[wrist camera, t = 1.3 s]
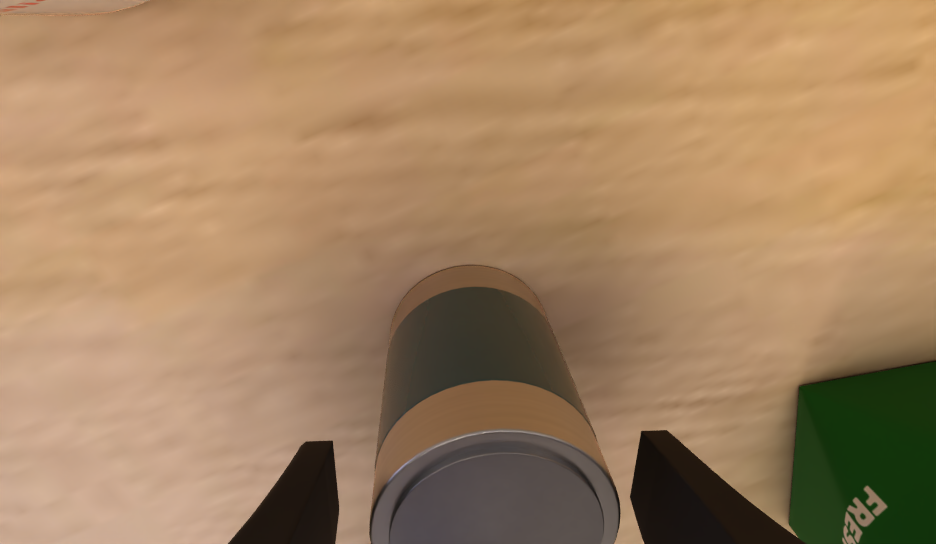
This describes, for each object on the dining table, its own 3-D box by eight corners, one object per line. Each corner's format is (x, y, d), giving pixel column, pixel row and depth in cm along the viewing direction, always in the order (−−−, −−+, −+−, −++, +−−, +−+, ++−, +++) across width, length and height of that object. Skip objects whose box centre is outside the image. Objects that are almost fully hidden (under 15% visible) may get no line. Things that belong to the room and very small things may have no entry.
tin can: (542, 399, 20) (609, 618, 13) (392, 404, 20) (373, 632, 13) (553, 263, 18) (641, 430, 11) (386, 264, 18) (359, 439, 11)
